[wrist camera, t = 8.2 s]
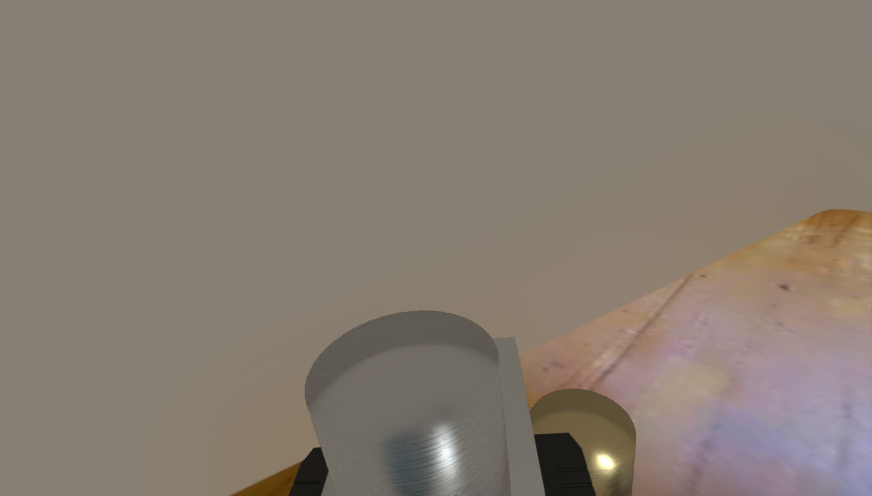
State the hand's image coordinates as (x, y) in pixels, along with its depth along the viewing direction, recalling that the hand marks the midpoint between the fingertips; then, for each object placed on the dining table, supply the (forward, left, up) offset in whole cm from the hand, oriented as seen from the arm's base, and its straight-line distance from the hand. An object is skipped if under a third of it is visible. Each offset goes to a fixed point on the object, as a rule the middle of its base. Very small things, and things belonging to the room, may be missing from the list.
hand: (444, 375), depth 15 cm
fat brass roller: (-6, -7, -20) cm, 22 cm away
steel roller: (0, +5, -7) cm, 9 cm away
